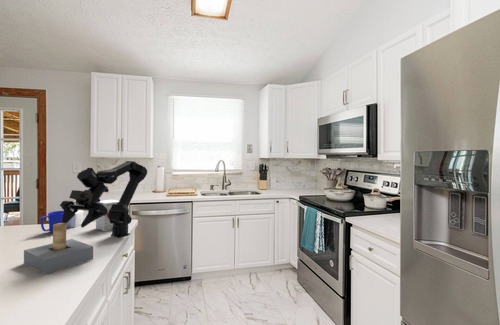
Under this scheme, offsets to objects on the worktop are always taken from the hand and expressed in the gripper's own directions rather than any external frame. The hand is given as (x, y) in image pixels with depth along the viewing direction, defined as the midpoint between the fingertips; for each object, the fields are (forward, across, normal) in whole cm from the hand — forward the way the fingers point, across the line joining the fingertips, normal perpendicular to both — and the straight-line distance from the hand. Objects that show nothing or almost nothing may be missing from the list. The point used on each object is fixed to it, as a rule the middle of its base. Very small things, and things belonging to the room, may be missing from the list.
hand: (71, 226), depth 103 cm
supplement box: (-18, -15, +36) cm, 43 cm away
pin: (+12, 0, +4) cm, 12 cm away
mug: (-8, -34, +25) cm, 44 cm away
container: (-17, -37, +35) cm, 54 cm away
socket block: (+12, 0, +5) cm, 13 cm away
